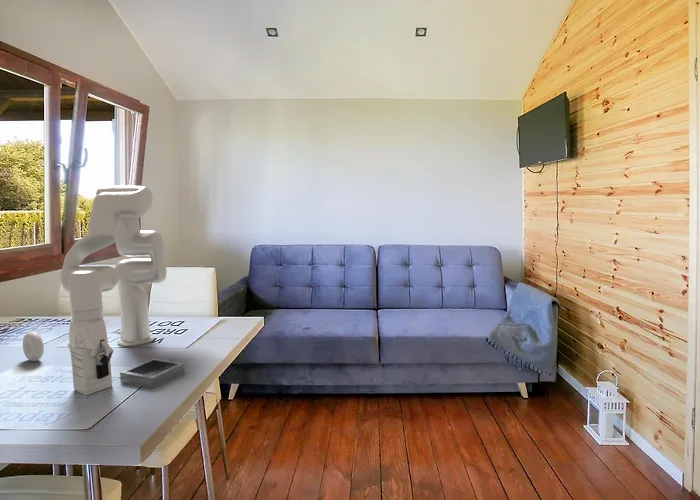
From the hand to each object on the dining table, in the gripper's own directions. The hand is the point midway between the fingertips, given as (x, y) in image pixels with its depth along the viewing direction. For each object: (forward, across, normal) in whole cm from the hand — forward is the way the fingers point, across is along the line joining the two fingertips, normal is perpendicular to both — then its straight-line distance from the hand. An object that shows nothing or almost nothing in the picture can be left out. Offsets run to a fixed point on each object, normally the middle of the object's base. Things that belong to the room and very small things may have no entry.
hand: (92, 374), depth 120 cm
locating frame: (+4, +10, +12) cm, 16 cm away
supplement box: (+4, 0, 0) cm, 4 cm away
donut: (+4, -39, +8) cm, 40 cm away
